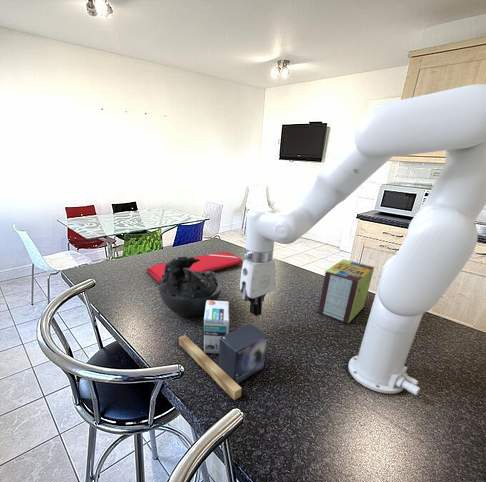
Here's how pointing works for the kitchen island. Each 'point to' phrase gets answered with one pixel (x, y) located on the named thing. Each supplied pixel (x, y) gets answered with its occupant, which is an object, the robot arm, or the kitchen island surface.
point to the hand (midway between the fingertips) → (255, 313)
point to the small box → (242, 352)
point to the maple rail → (211, 368)
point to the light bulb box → (215, 324)
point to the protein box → (345, 290)
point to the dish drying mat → (201, 264)
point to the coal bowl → (187, 287)
